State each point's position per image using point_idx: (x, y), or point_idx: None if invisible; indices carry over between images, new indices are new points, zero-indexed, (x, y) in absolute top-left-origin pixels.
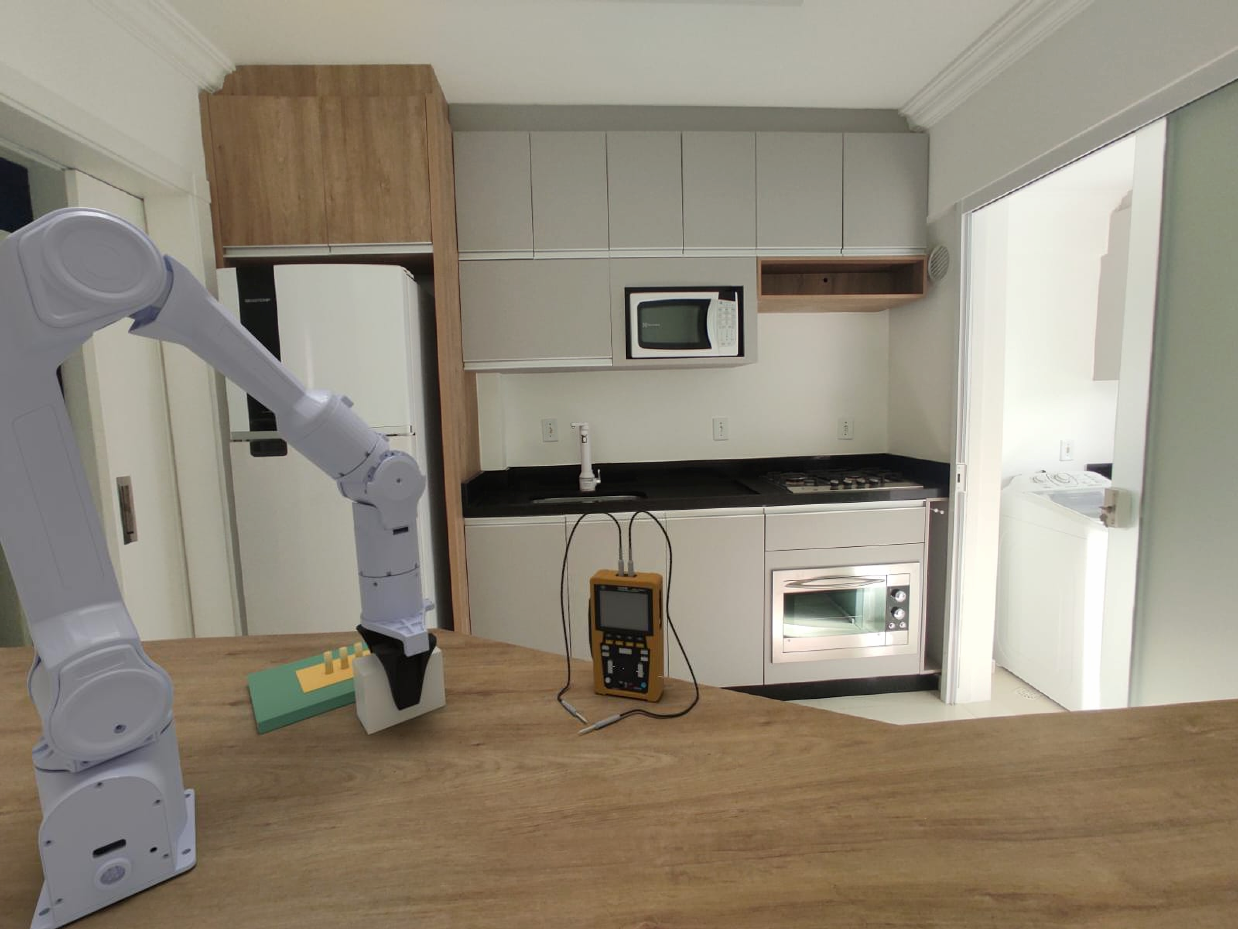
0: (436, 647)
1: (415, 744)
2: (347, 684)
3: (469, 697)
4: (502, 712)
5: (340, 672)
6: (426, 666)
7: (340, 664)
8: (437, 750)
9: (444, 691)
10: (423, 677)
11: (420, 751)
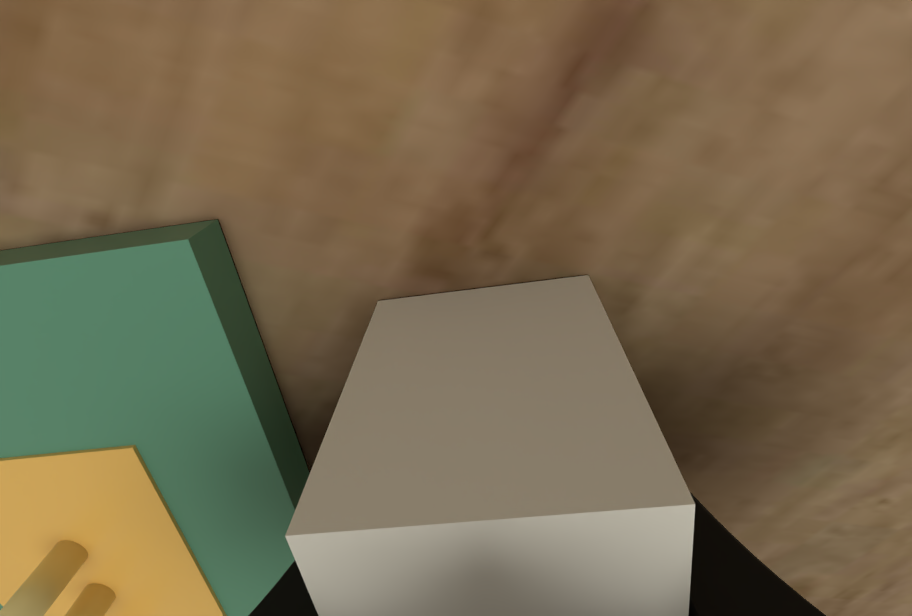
0: (578, 520)
1: (788, 429)
2: (256, 596)
3: (590, 145)
4: (895, 8)
5: (139, 607)
6: (796, 593)
7: (60, 601)
8: (902, 374)
9: (604, 310)
10: (730, 533)
11: (849, 423)
